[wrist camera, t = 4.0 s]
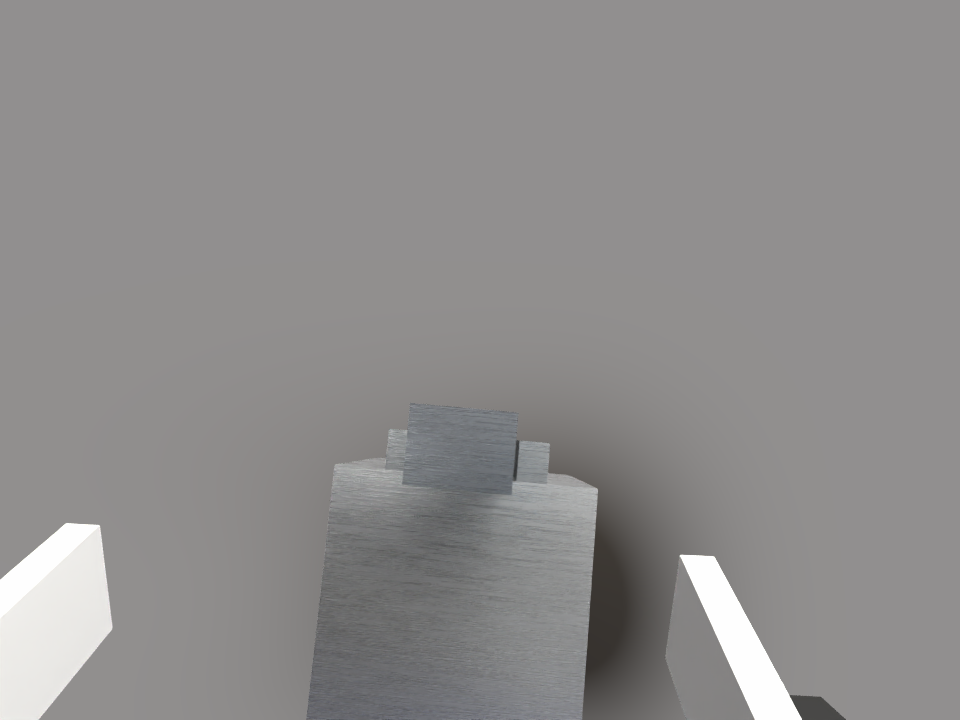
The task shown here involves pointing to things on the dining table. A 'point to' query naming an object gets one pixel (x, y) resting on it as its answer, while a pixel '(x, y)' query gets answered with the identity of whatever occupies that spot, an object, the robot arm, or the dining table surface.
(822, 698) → the robot arm
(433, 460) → the bar
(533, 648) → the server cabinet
